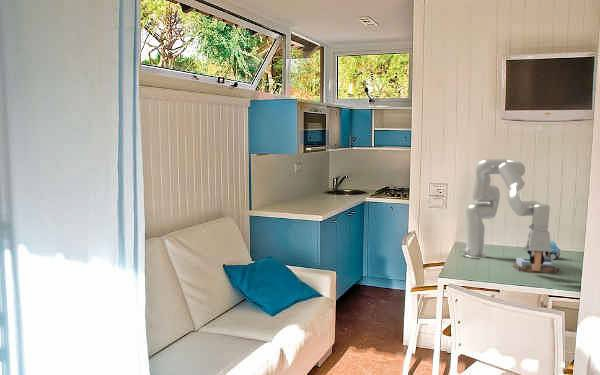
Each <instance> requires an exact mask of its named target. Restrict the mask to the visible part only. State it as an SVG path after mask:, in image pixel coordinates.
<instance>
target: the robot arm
mask: <svg viewBox="0 0 600 375" xmlns="http://www.w3.org/2000/svg"><path fill="white" fill-rule="evenodd" d="M475 167H476V168H475V180H474V186H473V190H472V198H473V200H474V201H475V202H476V203H471V204H469V205H468V206H467V208H466V217H467V233H466V247H464V248H458V249H457V252H458V253H461V254H463V256H464V257H465V258H469V259H475V260H476V259H479V260H480V259H485V258H487V256H486V254H485V253H484V247H485V230H486V229H485V228H486V227H485V224H484V221H483V220H492V219H494V218H495V217H496V215H497V211H498V208H499V203H500V199H501V192H500V189H499V187H497V186H496V185H492V184H491V183H492V179H491V175H500V176H501V178H502V180H503V182H504V184H505V185H506V187H507V188H508V193H507V201H508V204H509V206H510V208H511V210H512V211H513V213H514V214H515V215H517V216H519V217H528V216H529V217H531V216H532V217H531V218H532V221H531V224H530V225H529V226H528V229H530V230H529V233H528V236H527V242H526V245H525V246H524V247H523V250H524V251H525V252H526V253H527V254H528V255H529V258H530V263H531V264H534V252H535V251H542V257H541V264H542V265H543V263H544V257H545V256H546V255H547V254H548V253H550V252H552V249H551V247H550V240H551V234H550V231H549V224H550V220H549V219H550V211H551V210H550V209H551V206H550V205H549V204H547V203H541V202H539V201H536V200H527V201H526V200H525V201H522V200H521V198H520V197H519V195H518V192H519V191H521V190H522V189H523V188H524V187H525V183H526V182H525V181H524V180H523V178H522V177H523V176H524V175H525V172H526V167H525V165H524V164H523V163H522V162H521V161H516V160H512V159H506V158H486V159H481V160H480V161H478V163H477V164H476V166H475Z"/></svg>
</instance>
